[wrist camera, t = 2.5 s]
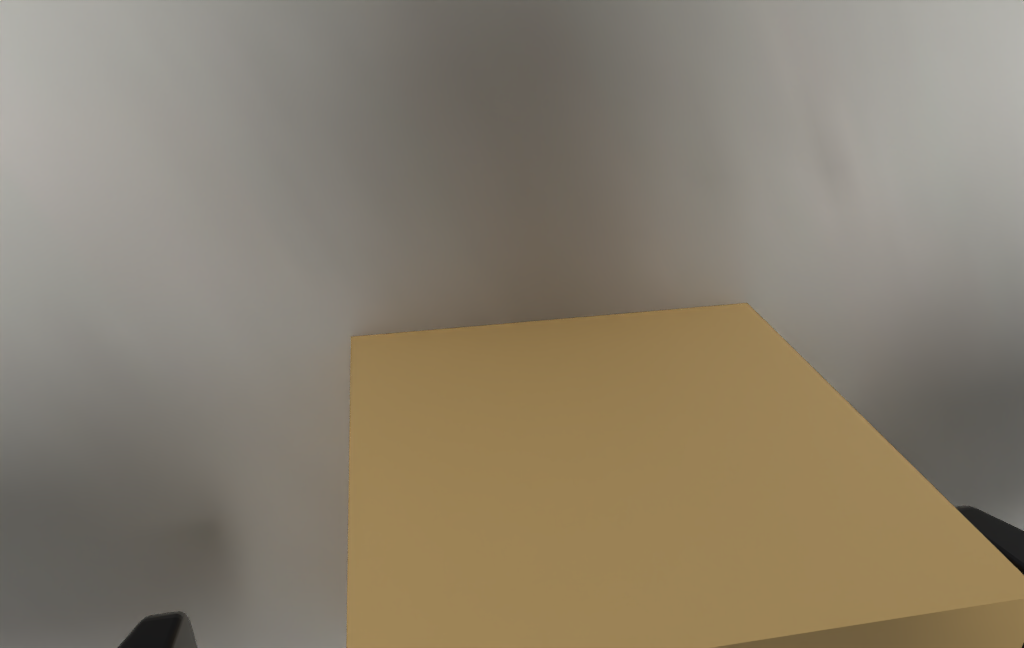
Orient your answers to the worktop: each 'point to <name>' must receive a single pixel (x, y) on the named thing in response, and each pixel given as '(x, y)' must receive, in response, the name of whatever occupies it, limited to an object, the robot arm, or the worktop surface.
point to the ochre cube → (644, 497)
